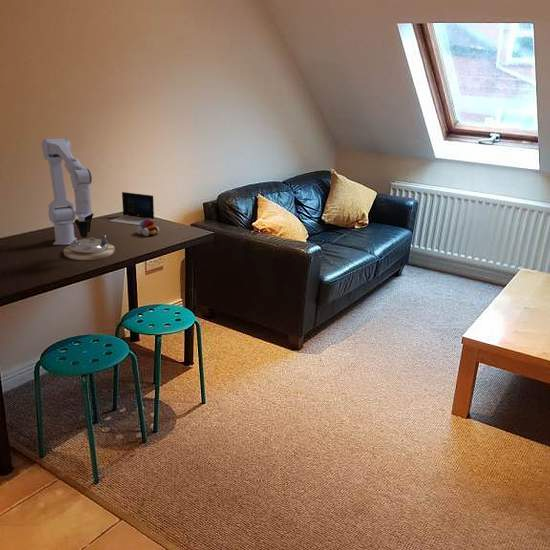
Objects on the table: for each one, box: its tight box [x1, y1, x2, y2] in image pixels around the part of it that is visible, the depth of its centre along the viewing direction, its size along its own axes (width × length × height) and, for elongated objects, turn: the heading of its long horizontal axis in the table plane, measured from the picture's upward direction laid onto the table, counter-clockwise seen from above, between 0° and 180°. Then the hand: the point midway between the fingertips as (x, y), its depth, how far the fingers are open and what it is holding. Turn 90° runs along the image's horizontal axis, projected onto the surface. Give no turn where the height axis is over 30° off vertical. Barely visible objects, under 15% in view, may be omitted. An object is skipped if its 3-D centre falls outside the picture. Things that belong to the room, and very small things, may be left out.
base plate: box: [63, 243, 116, 261], centre depth 225 cm, size 20×20×2 cm
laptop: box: [109, 191, 155, 226], centre depth 273 cm, size 18×12×13 cm
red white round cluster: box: [136, 218, 160, 237], centre depth 253 cm, size 8×10×7 cm
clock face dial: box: [68, 234, 109, 254], centre depth 224 cm, size 15×15×6 cm
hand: (85, 234), depth 216 cm, fingers open, 7 cm apart
